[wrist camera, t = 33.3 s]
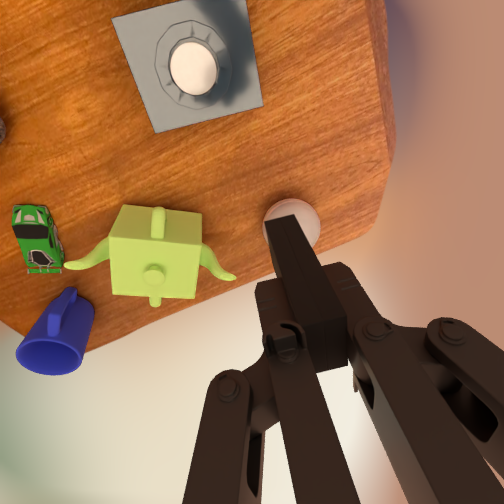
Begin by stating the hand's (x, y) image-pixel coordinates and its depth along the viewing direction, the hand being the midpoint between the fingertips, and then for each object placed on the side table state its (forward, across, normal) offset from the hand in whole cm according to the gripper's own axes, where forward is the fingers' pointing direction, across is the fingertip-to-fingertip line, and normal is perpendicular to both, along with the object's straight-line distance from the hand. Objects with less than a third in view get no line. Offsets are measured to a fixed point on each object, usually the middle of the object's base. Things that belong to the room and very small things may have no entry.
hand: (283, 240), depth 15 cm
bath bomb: (+27, +4, -14) cm, 31 cm away
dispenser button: (+21, -3, +7) cm, 22 cm away
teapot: (+27, -14, -12) cm, 32 cm away
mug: (+27, -32, -20) cm, 46 cm away
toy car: (+27, -30, -8) cm, 41 cm away
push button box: (+27, -3, +7) cm, 28 cm away
